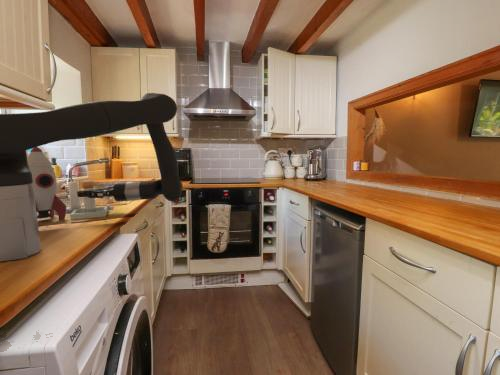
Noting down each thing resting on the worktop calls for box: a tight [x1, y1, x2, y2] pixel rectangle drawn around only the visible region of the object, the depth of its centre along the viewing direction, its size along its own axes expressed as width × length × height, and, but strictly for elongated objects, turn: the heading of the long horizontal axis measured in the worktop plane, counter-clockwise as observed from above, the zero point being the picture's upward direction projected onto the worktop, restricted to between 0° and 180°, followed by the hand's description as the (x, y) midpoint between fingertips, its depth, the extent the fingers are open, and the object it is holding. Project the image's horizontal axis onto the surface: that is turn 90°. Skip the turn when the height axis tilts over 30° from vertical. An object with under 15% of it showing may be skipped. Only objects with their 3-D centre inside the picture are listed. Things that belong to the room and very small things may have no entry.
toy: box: [27, 146, 67, 220], centre depth 94 cm, size 11×11×30 cm
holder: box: [37, 204, 115, 216], centre depth 109 cm, size 7×27×3 cm, turn 114°
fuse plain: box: [67, 181, 82, 213], centre depth 108 cm, size 4×4×12 cm
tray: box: [69, 205, 109, 225], centre depth 103 cm, size 11×11×3 cm
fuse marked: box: [81, 179, 97, 213], centre depth 102 cm, size 4×4×12 cm
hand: (80, 193), depth 101 cm, fingers closed on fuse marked, 3 cm apart
